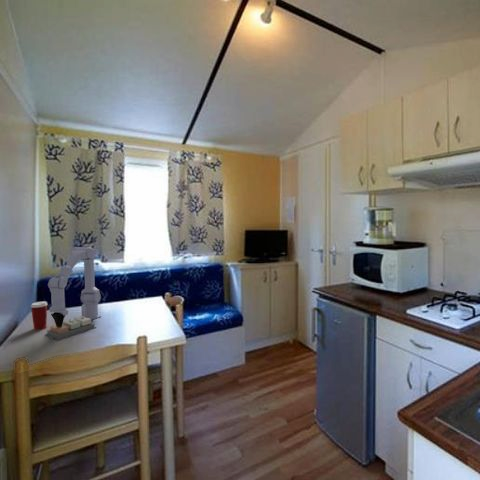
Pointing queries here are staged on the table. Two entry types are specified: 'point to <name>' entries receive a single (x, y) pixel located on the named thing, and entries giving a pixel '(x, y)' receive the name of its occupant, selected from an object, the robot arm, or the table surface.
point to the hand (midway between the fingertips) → (59, 326)
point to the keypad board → (70, 331)
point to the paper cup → (39, 315)
